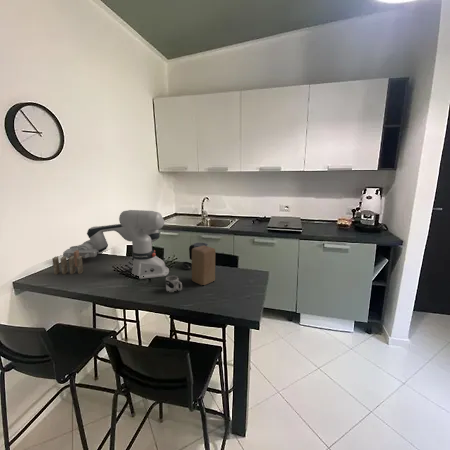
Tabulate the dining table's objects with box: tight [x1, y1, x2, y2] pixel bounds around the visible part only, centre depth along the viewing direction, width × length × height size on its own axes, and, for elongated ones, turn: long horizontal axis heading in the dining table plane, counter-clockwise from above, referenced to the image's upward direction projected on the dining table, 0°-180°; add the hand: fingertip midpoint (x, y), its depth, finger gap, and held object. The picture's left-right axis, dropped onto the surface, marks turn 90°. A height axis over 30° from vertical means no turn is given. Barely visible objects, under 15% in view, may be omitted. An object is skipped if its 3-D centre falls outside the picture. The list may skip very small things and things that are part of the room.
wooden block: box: [191, 245, 216, 286], centre depth 159 cm, size 10×10×20 cm
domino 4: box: [74, 250, 79, 268], centre depth 181 cm, size 2×4×10 cm, turn 8°
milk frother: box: [182, 242, 208, 270], centre depth 182 cm, size 14×16×15 cm
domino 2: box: [60, 256, 69, 275], centre depth 169 cm, size 2×4×10 cm, turn 8°
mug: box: [165, 275, 183, 293], centre depth 149 cm, size 10×7×7 cm, turn 58°
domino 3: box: [68, 256, 76, 275], centre depth 169 cm, size 2×4×10 cm, turn 8°
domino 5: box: [76, 256, 84, 275], centre depth 170 cm, size 2×4×10 cm, turn 8°
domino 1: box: [51, 256, 61, 276], centre depth 168 cm, size 2×4×10 cm, turn 8°
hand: (76, 257), depth 180 cm, fingers open, 8 cm apart
